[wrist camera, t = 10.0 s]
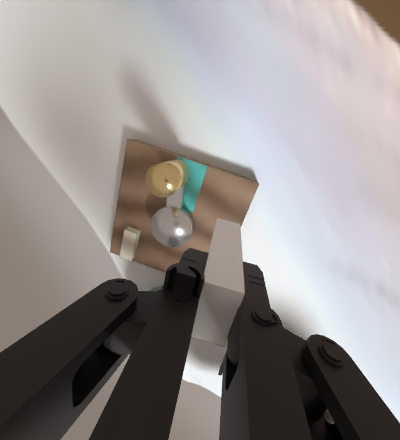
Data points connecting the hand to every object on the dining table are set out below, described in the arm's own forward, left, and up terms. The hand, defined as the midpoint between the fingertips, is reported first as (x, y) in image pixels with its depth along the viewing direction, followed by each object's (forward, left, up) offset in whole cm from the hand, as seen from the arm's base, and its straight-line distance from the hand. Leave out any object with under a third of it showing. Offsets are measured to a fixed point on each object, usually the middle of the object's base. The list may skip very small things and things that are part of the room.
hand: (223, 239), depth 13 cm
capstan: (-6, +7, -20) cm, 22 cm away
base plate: (-10, +7, -22) cm, 25 cm away
